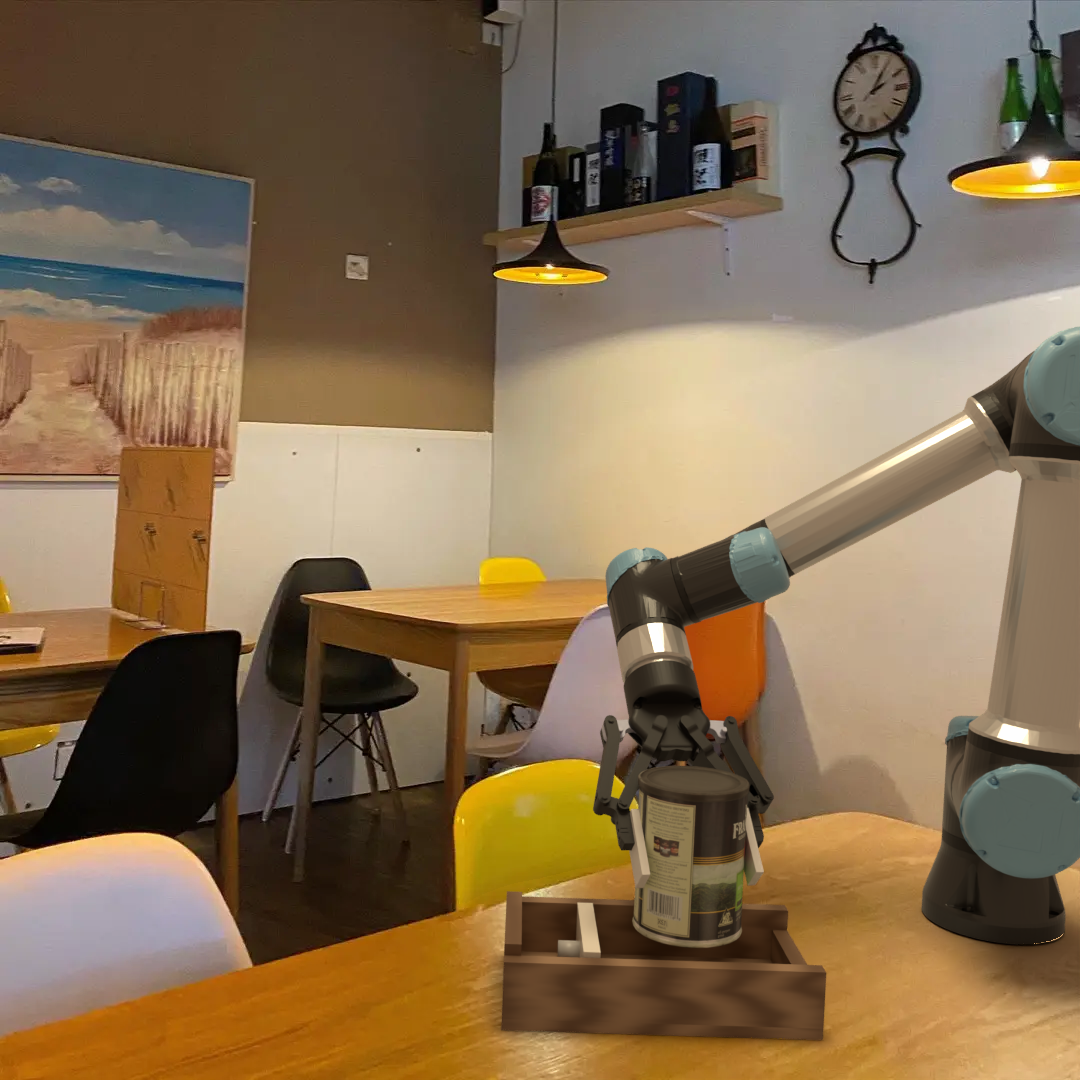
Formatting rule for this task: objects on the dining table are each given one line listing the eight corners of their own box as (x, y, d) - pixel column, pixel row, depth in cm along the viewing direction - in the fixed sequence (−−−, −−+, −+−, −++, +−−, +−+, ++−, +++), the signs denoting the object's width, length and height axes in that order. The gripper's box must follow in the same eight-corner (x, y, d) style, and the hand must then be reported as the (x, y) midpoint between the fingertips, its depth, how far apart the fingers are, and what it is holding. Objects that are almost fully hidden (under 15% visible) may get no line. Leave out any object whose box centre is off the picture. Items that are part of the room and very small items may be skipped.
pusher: (590, 952, 113) (592, 903, 113) (598, 1008, 101) (600, 952, 101) (555, 951, 113) (557, 901, 113) (558, 1006, 101) (560, 951, 101)
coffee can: (741, 912, 112) (748, 769, 111) (742, 954, 102) (750, 798, 101) (635, 901, 113) (642, 760, 113) (626, 942, 103) (633, 788, 103)
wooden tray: (781, 963, 116) (785, 895, 115) (823, 1040, 100) (826, 961, 99) (504, 954, 115) (507, 886, 115) (501, 1030, 99) (504, 950, 99)
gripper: (751, 699, 124) (803, 895, 109) (545, 697, 120) (570, 901, 105) (772, 658, 118) (830, 858, 104) (558, 655, 114) (586, 863, 99)
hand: (699, 880), depth 104 cm, fingers closed on coffee can, 10 cm apart
